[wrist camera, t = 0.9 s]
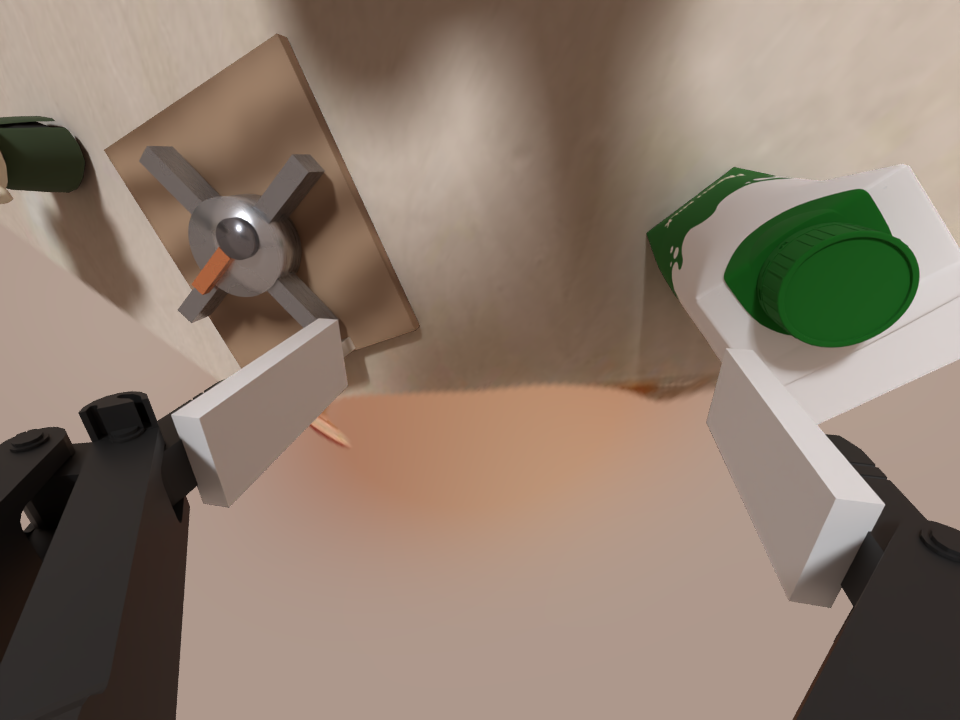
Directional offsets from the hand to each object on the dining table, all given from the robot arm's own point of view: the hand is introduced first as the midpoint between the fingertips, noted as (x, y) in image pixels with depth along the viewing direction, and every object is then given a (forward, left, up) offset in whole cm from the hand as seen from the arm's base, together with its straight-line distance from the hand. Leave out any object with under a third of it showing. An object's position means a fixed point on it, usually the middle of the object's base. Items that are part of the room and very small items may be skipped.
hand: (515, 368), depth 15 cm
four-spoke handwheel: (-9, -24, -21) cm, 33 cm away
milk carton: (+4, +11, -23) cm, 26 cm away
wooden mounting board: (-9, -24, -23) cm, 34 cm away
